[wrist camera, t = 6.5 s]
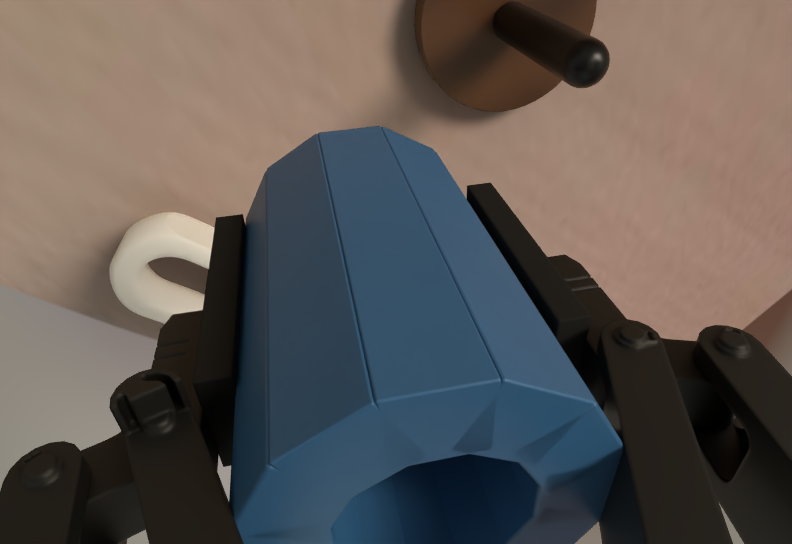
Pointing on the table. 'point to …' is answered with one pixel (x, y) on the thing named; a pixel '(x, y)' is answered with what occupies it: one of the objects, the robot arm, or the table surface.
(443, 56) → the stand base
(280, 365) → the towel roll
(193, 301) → the chain
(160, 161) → the table surface
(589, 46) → the stand post
